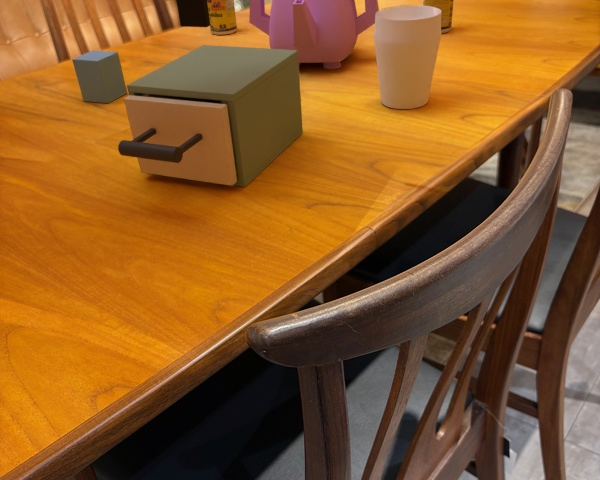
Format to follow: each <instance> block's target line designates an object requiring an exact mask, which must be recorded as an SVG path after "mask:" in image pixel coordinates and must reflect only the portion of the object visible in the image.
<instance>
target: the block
mask: <svg viewBox="0 0 600 480" xmlns="http://www.w3.org/2000/svg"><path fill="white" fill-rule="evenodd" d="M72 64H73V68H74V73H75V75H76V80H77V82H78V86H79V89H80V93H81V97H82V101H83V102H88V103H89V102H90V103H91V102H92V103H100V104H110V103H112V102H114V101H115V100H117V99H119V98H121V97H123V96H125V95H127V94H128V89H127V84H126V82H125V81H126V80H125V77H124V73H123V68H122V65H121V60H120V55H119V52H118V51H110V50H109V51H108V50H95V49H94V50H90V51H88V52H86V53H83V54H80V55H79V56H76V57H74V58H72Z"/></svg>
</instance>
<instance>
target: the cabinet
mask: <svg viewBox="0 0 600 480" xmlns="http://www.w3.org/2000/svg"><path fill="white" fill-rule="evenodd" d="M300 80H301V79H300V66H299V62H298V50H283V49H270V48H265V47H264V48H263V47H247V46H246V47H245V46H243V47H242V46H227V45H207V44H202V45H200V46H199V47H196V48H195V49H193V50H191V51H189V52H187V53H185V54H183V55H182V56H179V57H178V58H176V59H174V60H172V61H170V62H168V63H166V64H164V65H162V66H160V67H159V68H157V69H154V70H153V71H151V72H149V73H147V74H144V76H141V77H139V78H138V79H135V80H134V81H132V82H129V83H128V84H126V90H127V93H128V96H130V95H132V96H143V93H144V94H155V95H166V96H177V97H188V98H198V99H209V100H220V101H228V106H229V113H230V121H231V128H232V136H233V143H234V151H235V158H236V166H237V173H236V176H237V182H236V183H235V184H234V185H233V187H241V188H246V187H247V186H248V185H249V184H251V182H252V181H253V180H255V179H256V178H257V177H258V176H259V175H260V174H261V173H262V172H263V171H264V170H265V169H266V168H268V167H269V165H271V164H272V163H273V161H275V160H276V159H277V158H278V157H279V156H280V155H281V154H283V152H284V151H285V150H286V149H288V148H289V147H290V146H291V145H292V144H293V143H294V142H295V141H296V140H297V139H298V138H300V136H302V134H304V129H303V114H302V113H303V111H302V98H301V95H302V94H301V81H300Z"/></svg>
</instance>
